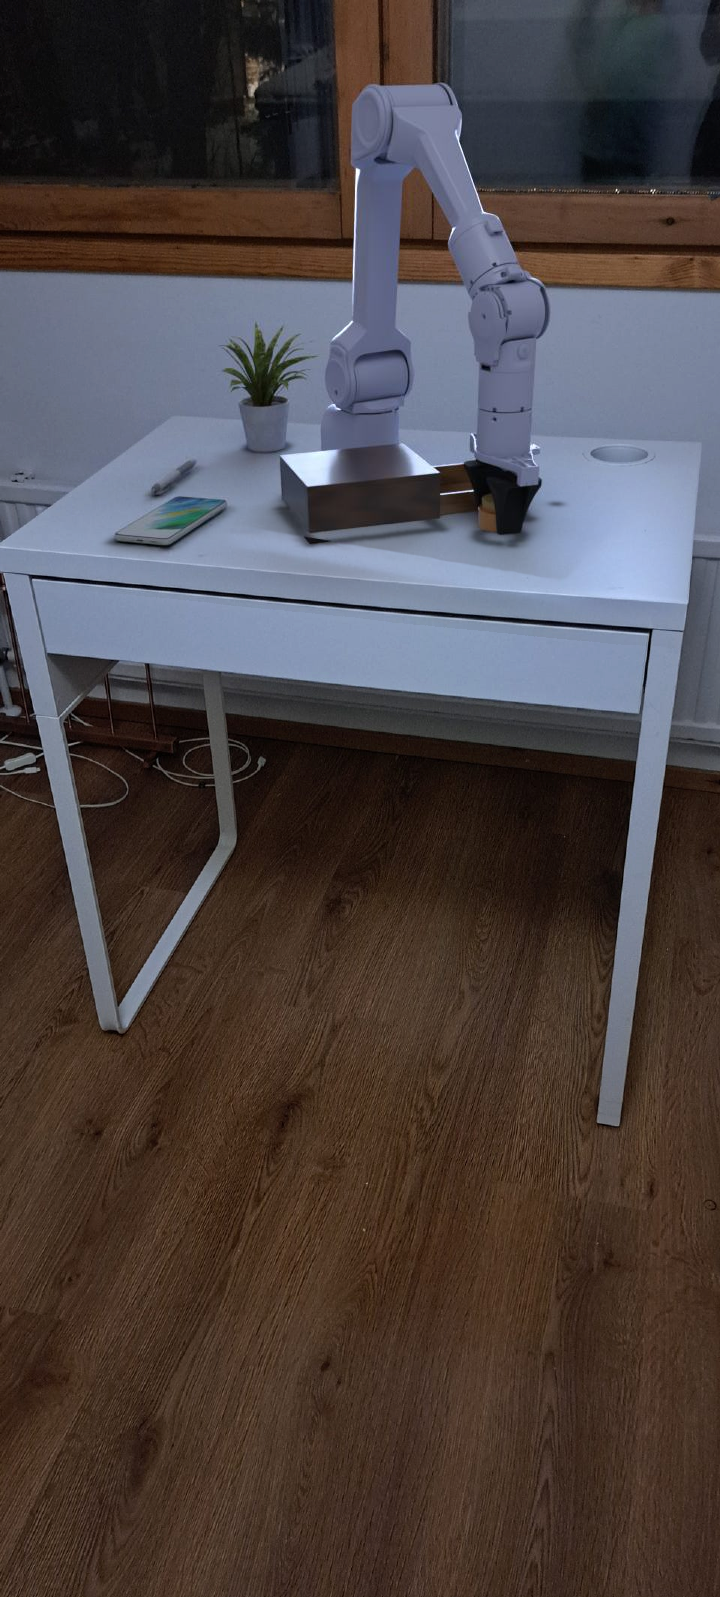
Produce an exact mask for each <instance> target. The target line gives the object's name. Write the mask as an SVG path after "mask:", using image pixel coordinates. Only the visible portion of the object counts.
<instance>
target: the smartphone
mask: <svg viewBox="0 0 720 1597" xmlns="http://www.w3.org/2000/svg"><path fill="white" fill-rule="evenodd" d="M227 507H228V501H227V500H226V499H221V498H220V499H219V498H208V497H207V498H206V497H194V496H174V497H172V498H171V499H169V500H168V501H166V502H164V503H163V504H161V505H159V506H158V507H156V508H154V509H153V510H151V511H149V512H148V513H146V514H144V515H142V517H139V518H138V519H136V520H135V521H133V522H132V523H129V524H128V525H127V526H125V527H123V528H121V529H120V530H118V531H116V532H115V533H114V536H113V537H114V540H115V541H117V542H125V543H135V544H147V545H158V546H170V545H171V544H173V543H174V542H176V541H178V540H179V539H181V538H182V537H184V536H185V535H187V534H188V533H190V532H191V531H193V530H194V529H196V528H197V527H198V526H201V525H202V524H203V523H204V522H206V521H207V520H209V519H211V518H213V517H214V516H216V515H217V514H219V513H221V512H222V511H223V510H225V509H226V508H227Z"/></svg>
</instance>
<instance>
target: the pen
mask: <svg viewBox="0 0 720 1597" xmlns="http://www.w3.org/2000/svg"><path fill="white" fill-rule="evenodd" d="M196 464H197V459H195V458H193V459H189V460H187V461H185V462H184V463H182V464H181V465H180V466H178V467H176V468H175V469H174V470H172V472H171V473H169V474H168V475H166V476H164V477H163V478H162V479H160V480H159V481H157V482H155V483H154V485H152V486H151V489H150V491H151V493H153V495H162V494H164V493H165V492H167V491H168V490H169V489H170V488H171V486H172V483H173V482H174V481H175V480H177V479H178V478H180V477H182V476H183V475H184V474H185V473H187V472H188V471H190V470H191V469H193V467H194V466H195V465H196Z"/></svg>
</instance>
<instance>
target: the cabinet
mask: <svg viewBox="0 0 720 1597" xmlns="http://www.w3.org/2000/svg"><path fill="white" fill-rule="evenodd" d="M432 466H433V465H432V464H430V463H429V462H428V461H427V460H425V459H424V458H422V457H421V456H420V455H418V454H417V452H415V451H413V450H412V449H411V448H410V447H409V446H407V445H406V444H405V443H403V442H402V443H399V444H390V445H380V446H370V447H360V448H349V449H339V450H329V451H320V450H318V451H310V452H309V451H308V452H300V453H299V452H298V453H289V454H279V472H280V473H279V474H280V489H281V490H280V492H281V500H282V501H283V503H284V504H285V505H286V506H287V508H288V509H289V510H290V512H291V513H292V514H293V515H294V516H295V518H296V519H297V520H298V522H299V523H300V524H301V525H302V526H303V528H304V529H305V530H306V532H307V533H308V534H317V533H325V532H332V531H333V532H335V531H342V530H352V529H359V528H367V527H377V526H386V525H397V524H404V523H413V522H421V521H429V520H438V519H441V515H440V480H441V478H440V476H441V473H440V472H439V471H437V470H436V469H435V468H434V467H432ZM303 538H304V539H305V540H306V541H307V543H308V544H309V545H313V544H323V543H332V542H333V543H334V540H329V539H322V538H318V537H317V538H316V537H310V536H307V535H306V536H305V535H304V536H303Z"/></svg>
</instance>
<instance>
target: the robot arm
mask: <svg viewBox="0 0 720 1597" xmlns="http://www.w3.org/2000/svg"><path fill="white" fill-rule="evenodd" d="M462 123H463V114H462V112H461V110H460V108H459V105H458V102H457V98H456V96H455V94H454V91H453V90H452V88H451V87H450V86H449V85H448V84H447V83H444V82H437V83H432V84H405V85H403V84H401V85H400V84H398V85H379V84H377V83H374V84H373V83H371V84H368V85H366V86H365V87H364V88H363V89H362V91H361V92H360V93H359V95H358V96H357V97H356V99H355V100H354V101H353V103H352V105H351V128H350V129H351V135H350V164H351V165H350V166H352V167H353V168H355V192H354V194H355V195H354V196H355V197H354V224H353V225H354V226H353V228H354V229H353V262H352V263H353V264H352V295H351V296H352V298H351V321H350V322H349V323H348V324H347V325H346V326H345V327H344V328H343V329H342V330H340V332H339V333H337V334H336V335H335V336H334V337H333V338H332V339H331V340H330V341H329V342H330V344H329V346H330V347H329V355H328V361H327V363H326V366H325V369H324V383H325V390H326V392H327V395H328V397H329V399H330V401H331V402H332V403H331V404H330V405H329V406H328V407H327V408H326V409H325V410H324V413H323V415H322V419H321V425H320V447H321V448H320V450H321V451H329V450H339V449H349V448H360V447H370V446H380V445H390V444H400V407H403V406H405V399H406V398H407V397H408V396H409V395H410V394H411V391H412V389H413V385H414V381H415V369H414V364H413V361H412V341H411V339H409V337H408V336H407V335H406V334H405V333H404V332H403V331H402V330H401V329H399V328H398V327H397V326H396V318H397V302H398V300H397V299H398V298H397V297H398V281H399V259H400V240H401V219H402V202H403V201H402V199H403V198H402V197H403V183H404V179H405V178H406V177H407V176H408V175H409V174H410V173H411V172H412V170H413V169H418V170H420V172H421V173H422V176H423V177H424V179H425V181H426V183H427V184H428V187H429V188H430V190H431V192H432V194H433V196H434V197H435V199H436V201H437V203H438V205H439V206H440V209H441V210H442V212H443V214H444V216H445V218H446V220H447V221H448V223H449V225H450V227H451V233H450V235H449V239H448V240H447V241H448V242H447V247H448V251H449V253H450V255H451V257H452V260H453V262H454V265H455V267H456V269H457V271H458V273H459V276H460V278H461V281H462V283H463V285H464V288H465V289H466V291H467V294H468V296H469V298H470V301H471V305H470V311H468V312H467V320H468V326H469V331H470V333H471V336H472V339H473V344H474V346H473V347H474V349H473V355H474V356H475V361H476V362H478V382H477V383H478V389H477V412H476V416H477V418H476V432H475V433H469V452H470V453H472V454H473V457H474V458H475V459H471V460H466V461H464V462H463V463H464V468H465V470H466V472H467V474H468V476H469V479H470V481H471V484H472V487H473V491H474V495H475V499H476V505H477V510H478V508H479V506H480V505H482V497H483V496H484V495H487V494H492V497H493V501H494V506H495V513H496V528H497V532H496V534H497V535H498V536H505V535H514V534H520V533H522V530H523V526H524V524H525V519H526V516H527V514H528V511H529V508H530V506H531V504H532V502H533V500H534V498H535V496H536V495H537V493H538V491H539V490H540V489H541V487H542V485H543V484H542V483H543V480H542V478H541V477H539V475H540V474H539V473H540V465H539V464H537V463H536V461H535V457H534V456H535V455H540V454H541V448H540V446H538V444H535V443H531V438H532V420H533V403H534V386H535V371H536V370H535V368H536V350H537V340H538V339H540V338H542V337H543V336H544V335H545V333H546V332H547V329H548V327H549V324H550V320H551V302H550V297H549V295H548V292H547V288H546V286H545V285H544V283H543V282H542V281H541V280H539V279H538V278H535V277H533V276H532V275H531V274H530V272H529V271H527V270H524V269H523V268H522V266H521V264H520V262H519V259H518V258H517V256H516V253H515V251H514V249H513V246H512V244H511V242H510V240H509V237H508V235H507V233H506V230H505V229H504V225H503V224H502V222H501V220H500V218H499V216H497V215H495V214H494V213H493V214H492V213H488V212H485V211H484V210H483V206H482V204H481V203H482V202H481V201H480V198H479V194H478V192H477V189H476V186H475V183H474V181H473V178H472V175H471V172H470V170H469V167H468V163H467V161H466V158H465V155H464V152H463V149H462V146H461V144H460V137H461V133H462V132H461V131H462Z"/></svg>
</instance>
